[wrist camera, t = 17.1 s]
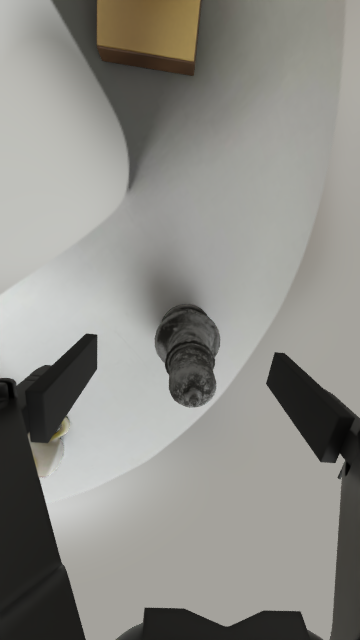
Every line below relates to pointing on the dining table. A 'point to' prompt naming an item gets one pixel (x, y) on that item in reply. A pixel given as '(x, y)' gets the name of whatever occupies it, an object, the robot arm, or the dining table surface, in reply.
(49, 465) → the mug
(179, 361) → the grey chess piece
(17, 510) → the robot arm
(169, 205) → the dining table surface
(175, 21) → the strip board
